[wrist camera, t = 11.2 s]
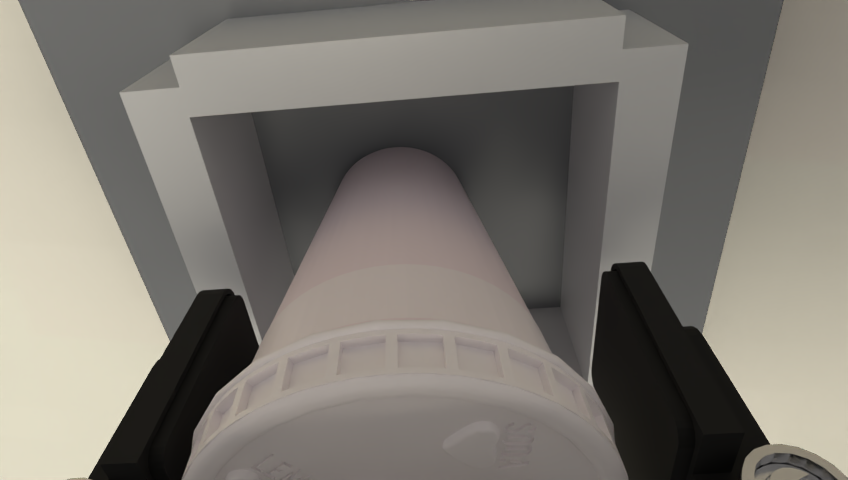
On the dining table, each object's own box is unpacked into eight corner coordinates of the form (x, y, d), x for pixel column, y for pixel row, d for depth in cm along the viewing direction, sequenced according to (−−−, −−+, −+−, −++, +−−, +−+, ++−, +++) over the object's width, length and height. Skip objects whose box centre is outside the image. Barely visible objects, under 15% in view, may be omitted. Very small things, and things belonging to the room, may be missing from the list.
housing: (811, -229, 12) (1002, -289, 8) (675, 379, 21) (730, 486, 17) (-13, -140, 12) (-208, -154, 9) (216, 405, 22) (172, 513, 18)
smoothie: (244, 148, 15) (-379, 1200, 3) (472, 59, 14) (964, 1100, 2) (347, 319, 18) (254, 1140, 6) (536, 256, 17) (864, 1092, 5)
